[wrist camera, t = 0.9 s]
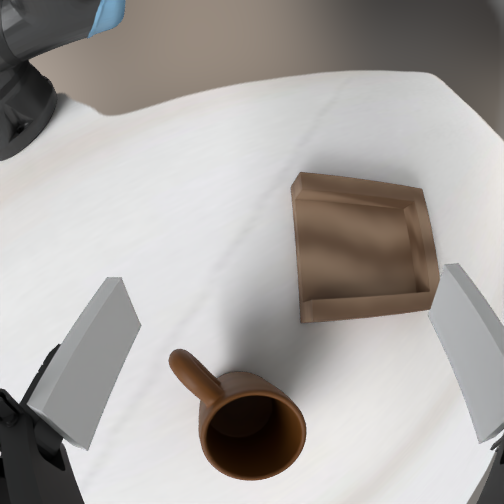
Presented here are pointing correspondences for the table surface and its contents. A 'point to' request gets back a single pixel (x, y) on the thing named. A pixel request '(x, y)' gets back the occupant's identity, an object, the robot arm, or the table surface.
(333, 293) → the u rest
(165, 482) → the table surface
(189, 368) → the mug
